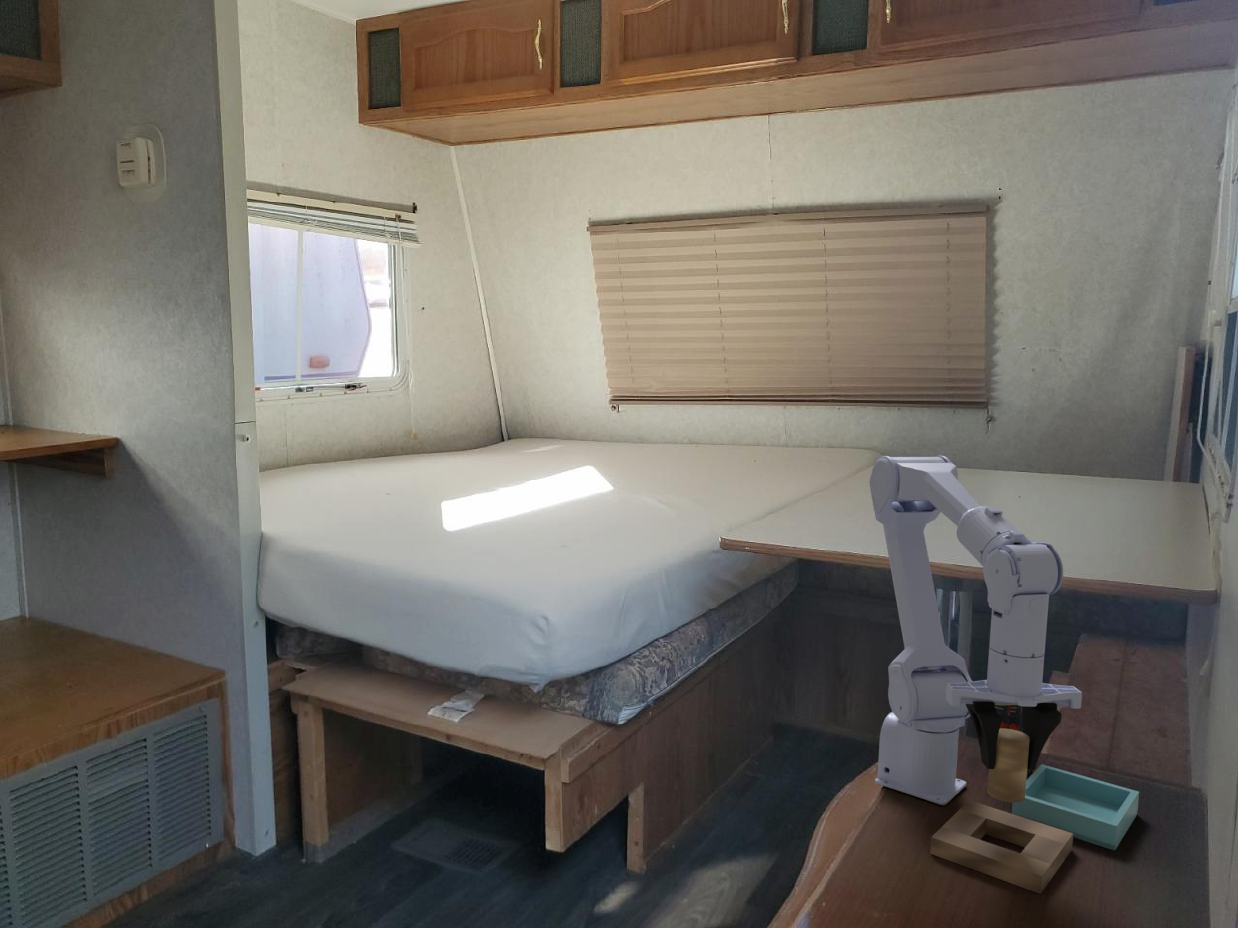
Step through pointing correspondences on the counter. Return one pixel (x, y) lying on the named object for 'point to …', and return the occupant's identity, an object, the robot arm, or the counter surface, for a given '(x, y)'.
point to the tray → (1079, 805)
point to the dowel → (1009, 767)
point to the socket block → (1020, 869)
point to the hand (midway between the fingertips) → (1007, 765)
